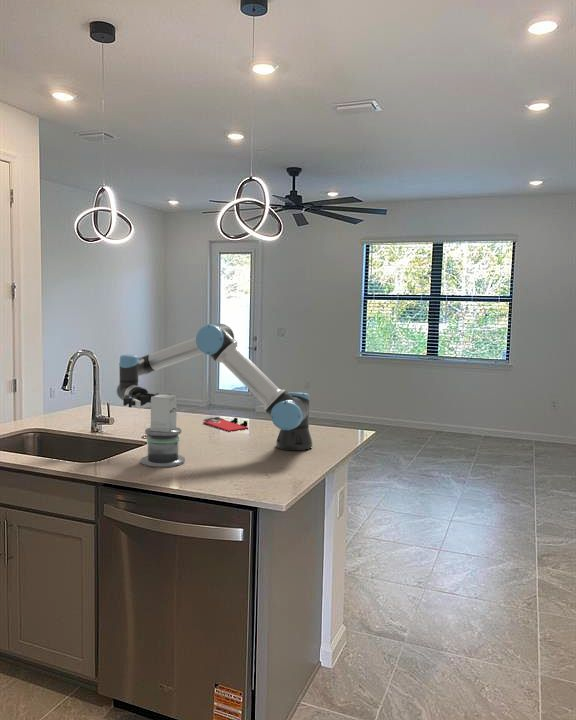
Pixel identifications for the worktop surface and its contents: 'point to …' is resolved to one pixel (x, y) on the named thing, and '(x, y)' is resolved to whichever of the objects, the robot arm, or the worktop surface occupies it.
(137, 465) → the worktop surface
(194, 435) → the worktop surface
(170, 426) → the supplement box
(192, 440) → the worktop surface
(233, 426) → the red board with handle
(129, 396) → the robot arm
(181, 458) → the grey round canister
